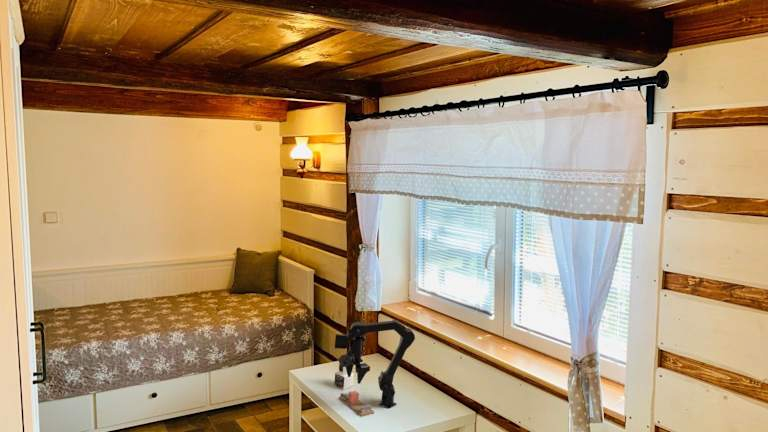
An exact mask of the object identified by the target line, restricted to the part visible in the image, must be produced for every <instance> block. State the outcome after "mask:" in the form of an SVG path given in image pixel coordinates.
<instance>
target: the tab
mask: <svg viewBox="0 0 768 432" xmlns="http://www.w3.org/2000/svg"><path fill="white" fill-rule="evenodd" d="M343 394H344V397H346V398H347V399H348V401H349V402H350V403H355V402H358V400H359V395H360V393H359V392H358V391H356V390H353V391H348V393H343Z"/></svg>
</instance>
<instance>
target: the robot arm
mask: <svg viewBox="0 0 768 432" xmlns="http://www.w3.org/2000/svg"><path fill="white" fill-rule="evenodd" d="M384 331H385V332H386V331H395V332H396V333H397V334H398V335H399V336H400V338H399V343H398V346H397V348H396V349H395V352H394V354H393V355H392V358H391V360H390V362H389V365H388V366H387V369H386V370H385V371H381V372H380V375H379V376H378V377H377V381H378V387H379V390H380V391H381V392H382V394H381V402H379V403H378V406H381V407H384V408H388V409H391V408H392V407H394V406H396V405H397V403H396V402H394V401H395V395H396V390H395V386H394V383H393V382H394V376H395V373H397V372H396V371H397V370H398V368H399V365H400V364H401V362H402V359H403V357H404V355H405V354H406V352H407V349H408V348H410V347H411V346H412V345H413V343H414V341H416V340H415V339H416V336H415V333H414V330H412V329H411V327H410V328H409V327H406V326H405V325H403V324H402V323H400V322H399V321H398V320H397V319H392V320H386V321H378V322H377V321H376V322H364V321H355V322H352V324H351V326H350V329H349V330H348V331H347V332H346V334H341V333H335V337H334V338H335V339H334V349H338V350H346V349H348V347H349V349H348V350H347V351H346V354H341V355H340V357H338V358H337V360H338V364H339V365H341V366H342V367H346V371H347V375H348V377H350V376H351V373H353V369H354V367H355V370H354V372H355V373H356V375H357V376H356V377H357V384H361V383H362V381H363V379H364V377H365V375H366V374H367V373H368V372H370V371H371V366H370V365H369V364H367V363H366V362H363V361H364V360H363V359H362V355H364V351H363V350H362V348H363V341H364V342H366V341H367V337H365V335H368V334H370V333H377V332H384ZM362 362H363V363H362Z"/></svg>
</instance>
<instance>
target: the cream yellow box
mask: <svg viewBox="0 0 768 432" xmlns="http://www.w3.org/2000/svg"><path fill="white" fill-rule="evenodd" d="M354 375H355V373H353V372H352V373H351V376H350V377H348V375H347V371H346V367H342V366H341V365H340V364H339V365H338V371H336V372H335V373H334V386H335V388H338V389H341V390H343V391H344V390H348V389H350V388H353V387H354Z"/></svg>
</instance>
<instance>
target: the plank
mask: <svg viewBox="0 0 768 432" xmlns="http://www.w3.org/2000/svg"><path fill="white" fill-rule="evenodd" d="M344 394H345V393H341V392H340V396H338V399H339V400H340V401H342V402H343V404H345V405H346V406H347V407H349V409H351V410H353V412H355V413H356V414H357V415H358V416H360V417H365V416H370V414H371V415H374V414H375V411H374V410H373V409H372V405H371V404H368V405H367V404H365V403H364V402H362V401H361V400H360V399H358V402H355V403H350V402H349V401H348V399H347V398H346V397H344Z"/></svg>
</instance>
